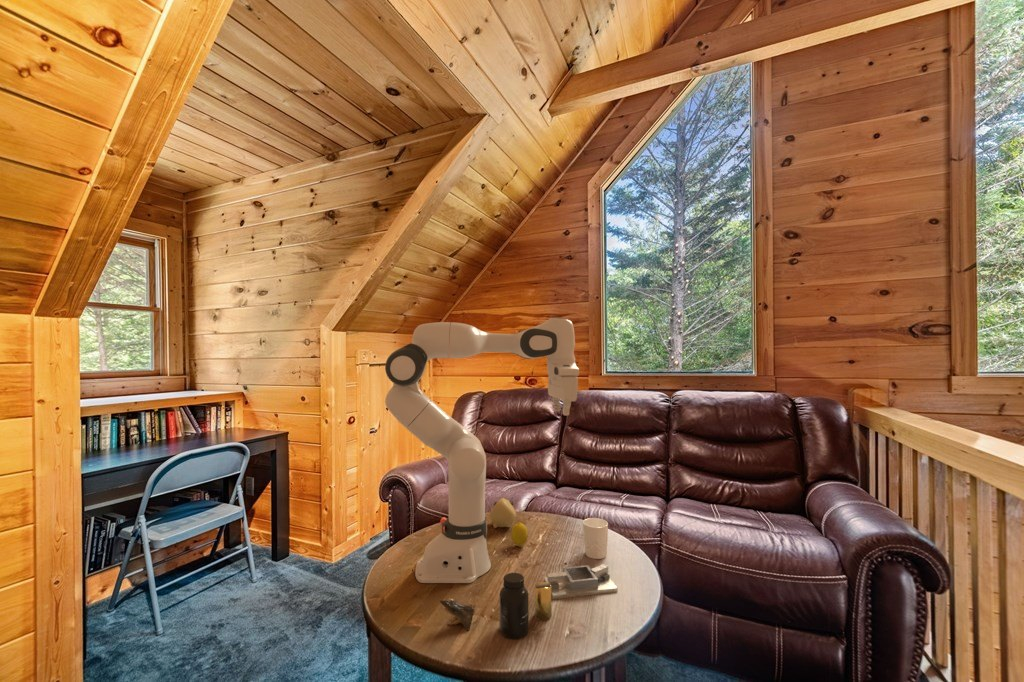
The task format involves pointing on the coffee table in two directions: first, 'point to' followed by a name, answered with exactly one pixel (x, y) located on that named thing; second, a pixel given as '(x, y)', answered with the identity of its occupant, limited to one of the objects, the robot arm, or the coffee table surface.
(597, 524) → the white cup
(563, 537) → the coffee table surface
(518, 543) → the lemon
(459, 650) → the coffee table surface
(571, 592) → the shaft rig
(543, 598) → the cylinder
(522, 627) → the supplement bottle
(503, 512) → the pale yellow wedge piece
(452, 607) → the shark head
